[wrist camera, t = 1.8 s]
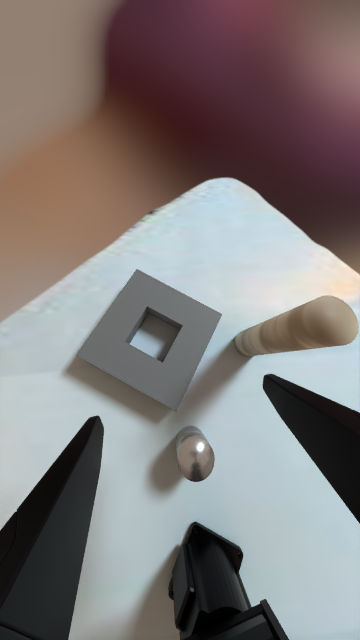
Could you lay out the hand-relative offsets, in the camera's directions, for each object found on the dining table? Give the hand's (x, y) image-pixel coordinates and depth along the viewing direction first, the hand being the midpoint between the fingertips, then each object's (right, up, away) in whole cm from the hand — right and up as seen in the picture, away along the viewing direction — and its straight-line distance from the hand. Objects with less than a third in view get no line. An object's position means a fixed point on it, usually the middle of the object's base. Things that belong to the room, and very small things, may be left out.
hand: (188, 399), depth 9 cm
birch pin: (+10, +1, +18) cm, 20 cm away
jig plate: (-4, +2, +16) cm, 17 cm away
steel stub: (+1, -12, +13) cm, 18 cm away
